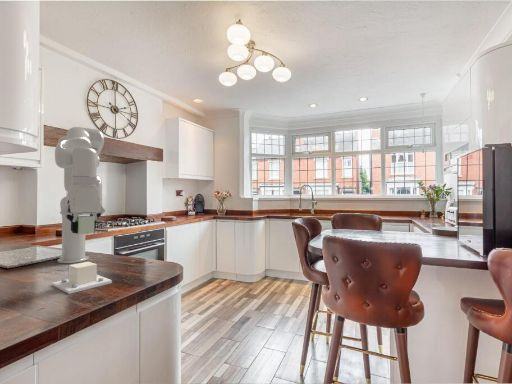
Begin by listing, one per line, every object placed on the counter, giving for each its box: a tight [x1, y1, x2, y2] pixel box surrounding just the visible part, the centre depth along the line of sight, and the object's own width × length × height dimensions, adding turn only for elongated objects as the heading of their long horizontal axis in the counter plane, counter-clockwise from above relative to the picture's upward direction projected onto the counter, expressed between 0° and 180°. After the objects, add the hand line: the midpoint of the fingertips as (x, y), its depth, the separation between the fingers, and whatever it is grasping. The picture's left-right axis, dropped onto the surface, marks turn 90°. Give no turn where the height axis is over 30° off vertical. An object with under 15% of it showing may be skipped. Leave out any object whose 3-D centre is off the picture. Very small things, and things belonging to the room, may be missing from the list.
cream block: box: [68, 261, 98, 285], centre depth 99 cm, size 6×6×6 cm
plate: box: [51, 274, 113, 295], centre depth 99 cm, size 14×14×2 cm
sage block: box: [75, 215, 95, 235], centre depth 99 cm, size 5×5×6 cm
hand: (83, 231), depth 99 cm, fingers closed on sage block, 5 cm apart
